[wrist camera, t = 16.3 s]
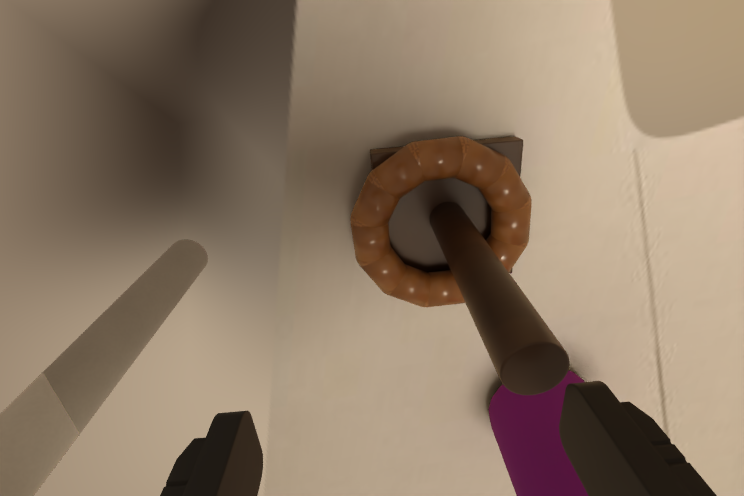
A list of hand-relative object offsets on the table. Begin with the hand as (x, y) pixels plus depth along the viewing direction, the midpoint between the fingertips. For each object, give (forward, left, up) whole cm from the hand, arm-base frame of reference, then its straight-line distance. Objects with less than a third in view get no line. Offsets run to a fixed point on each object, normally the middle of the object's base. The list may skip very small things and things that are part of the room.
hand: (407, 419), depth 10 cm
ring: (+3, 0, -12) cm, 13 cm away
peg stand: (+4, 0, -14) cm, 15 cm away
